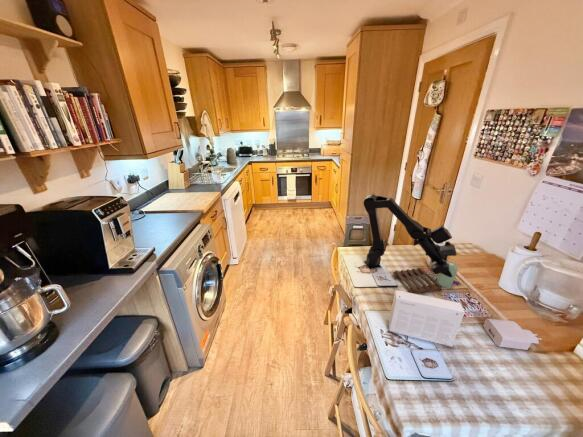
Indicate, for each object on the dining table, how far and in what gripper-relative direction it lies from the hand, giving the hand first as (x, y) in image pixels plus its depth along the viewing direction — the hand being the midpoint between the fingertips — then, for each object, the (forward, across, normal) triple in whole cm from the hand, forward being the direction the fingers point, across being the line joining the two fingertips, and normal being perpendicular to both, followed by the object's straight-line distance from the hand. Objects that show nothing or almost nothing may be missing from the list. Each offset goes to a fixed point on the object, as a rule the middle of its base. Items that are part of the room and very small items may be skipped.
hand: (450, 273), depth 108 cm
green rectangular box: (+4, 0, +6) cm, 7 cm away
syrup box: (+1, +15, +9) cm, 17 cm away
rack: (-5, -6, +14) cm, 16 cm away
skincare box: (-3, -37, +13) cm, 39 cm away
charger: (+18, -23, -9) cm, 31 cm away
